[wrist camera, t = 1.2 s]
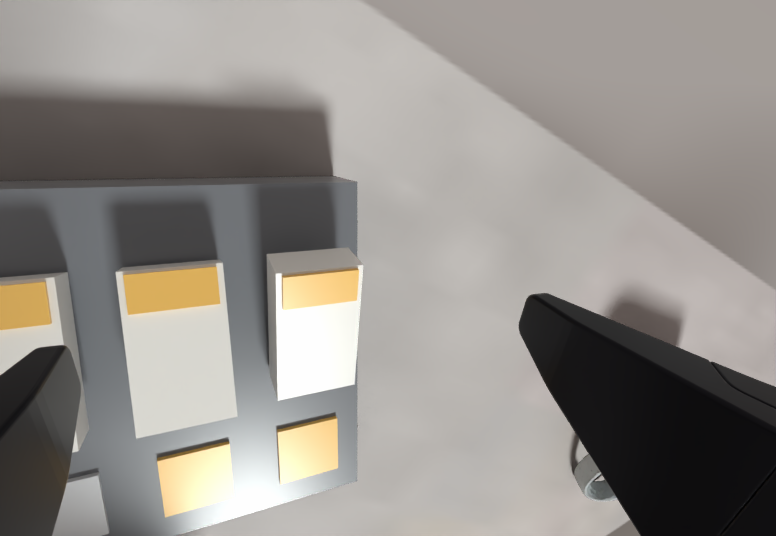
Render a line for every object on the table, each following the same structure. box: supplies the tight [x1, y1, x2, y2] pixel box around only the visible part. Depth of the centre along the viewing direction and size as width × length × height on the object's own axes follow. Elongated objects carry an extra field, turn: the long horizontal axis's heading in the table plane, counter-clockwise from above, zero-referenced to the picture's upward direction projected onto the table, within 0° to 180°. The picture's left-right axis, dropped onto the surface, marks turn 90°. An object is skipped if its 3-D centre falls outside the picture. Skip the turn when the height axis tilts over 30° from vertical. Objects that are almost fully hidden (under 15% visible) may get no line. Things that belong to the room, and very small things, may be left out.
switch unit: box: [0, 176, 357, 536], centre depth 18 cm, size 14×14×3 cm
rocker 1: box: [0, 272, 89, 453], centre depth 13 cm, size 5×3×2 cm, turn 179°
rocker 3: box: [267, 247, 363, 401], centre depth 17 cm, size 5×3×2 cm, turn 179°
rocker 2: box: [116, 259, 238, 439], centre depth 15 cm, size 5×3×2 cm, turn 179°
